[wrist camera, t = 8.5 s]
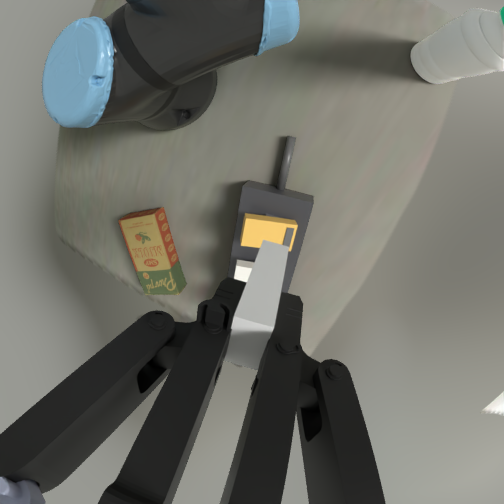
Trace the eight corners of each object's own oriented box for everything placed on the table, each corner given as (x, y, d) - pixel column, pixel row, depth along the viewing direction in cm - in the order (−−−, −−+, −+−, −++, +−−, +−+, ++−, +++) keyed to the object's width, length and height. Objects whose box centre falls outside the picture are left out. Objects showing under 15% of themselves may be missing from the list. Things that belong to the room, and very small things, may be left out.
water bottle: (455, 75, 26) (564, 57, 4) (427, 91, 28) (539, 76, 7) (429, 37, 24) (521, -15, 2) (400, 52, 27) (488, -7, 5)
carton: (165, 205, 46) (153, 213, 42) (188, 284, 53) (179, 296, 49) (129, 212, 48) (116, 220, 44) (154, 285, 55) (144, 296, 51)
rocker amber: (240, 239, 38) (241, 246, 37) (244, 213, 37) (246, 218, 35) (288, 245, 40) (291, 251, 38) (294, 220, 38) (298, 225, 36)
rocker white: (233, 281, 42) (232, 288, 41) (237, 259, 41) (236, 266, 39) (277, 288, 43) (278, 296, 41) (283, 267, 41) (284, 274, 39)
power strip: (226, 307, 53) (219, 323, 48) (258, 129, 37) (251, 129, 33) (276, 321, 52) (273, 338, 47) (326, 144, 36) (328, 147, 32)
